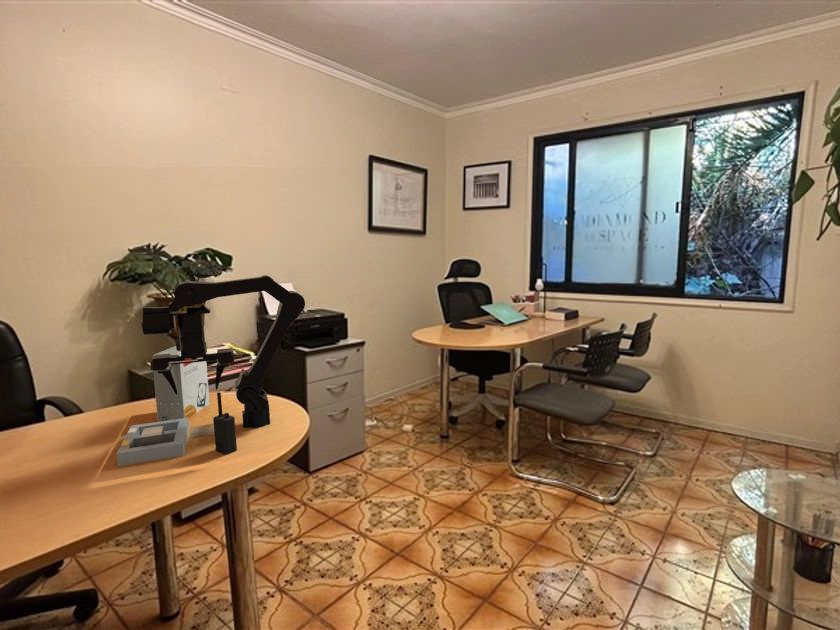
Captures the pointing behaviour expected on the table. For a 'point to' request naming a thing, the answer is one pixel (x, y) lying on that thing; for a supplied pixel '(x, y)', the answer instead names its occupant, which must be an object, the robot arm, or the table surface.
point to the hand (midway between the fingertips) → (197, 391)
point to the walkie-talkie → (224, 431)
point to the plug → (153, 436)
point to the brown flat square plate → (202, 430)
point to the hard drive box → (181, 389)
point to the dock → (172, 447)
